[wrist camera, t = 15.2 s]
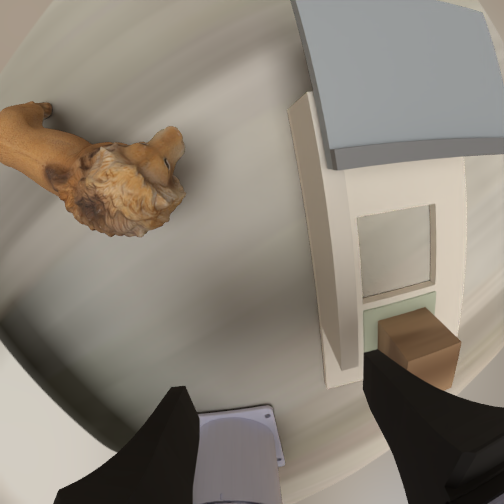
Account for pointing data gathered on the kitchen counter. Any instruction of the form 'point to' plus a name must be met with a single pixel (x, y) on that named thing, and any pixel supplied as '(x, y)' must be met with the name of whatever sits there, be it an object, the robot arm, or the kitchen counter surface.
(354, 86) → the cover
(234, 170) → the kitchen counter surface
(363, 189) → the puzzle board
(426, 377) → the block
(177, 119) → the kitchen counter surface
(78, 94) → the kitchen counter surface
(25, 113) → the lion figurine
